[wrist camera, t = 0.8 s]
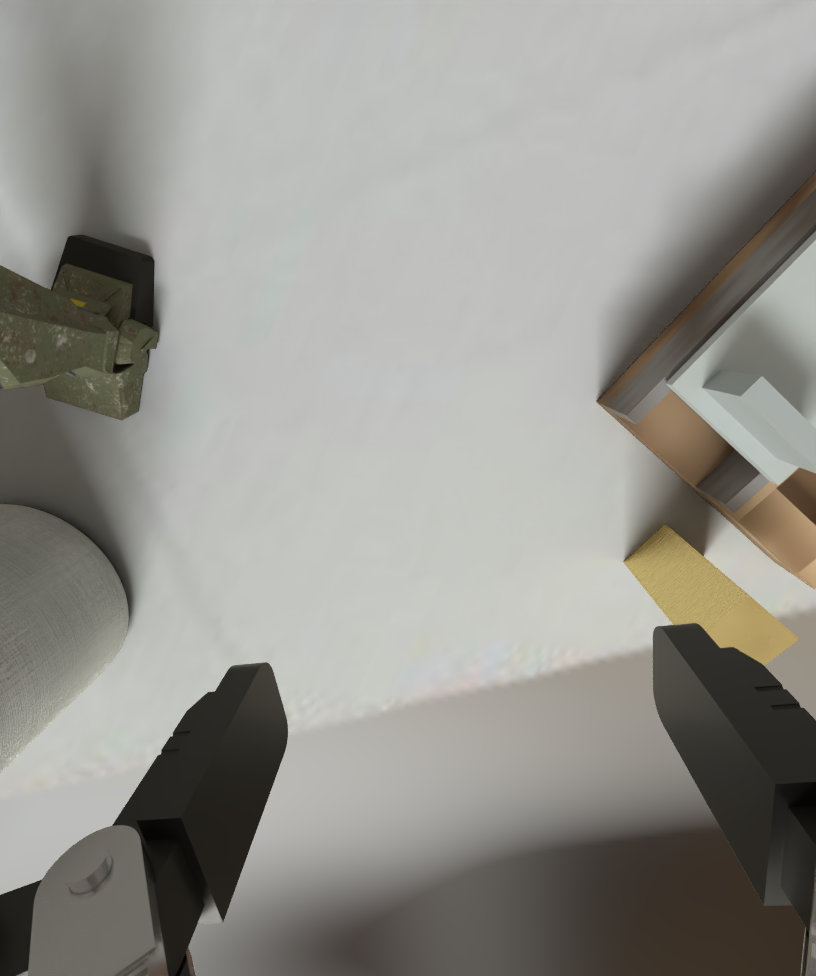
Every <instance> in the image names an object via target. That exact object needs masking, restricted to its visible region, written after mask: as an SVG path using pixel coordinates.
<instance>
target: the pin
mask: <svg viewBox="0 0 816 976" xmlns="http://www.w3.org/2000/svg"><path fill="white" fill-rule="evenodd" d="M624 564H625V565H626V566H627V567H628V569H629V570H630V571H631V572H632V574H633V575H634V576H635V577H636V579H637V580H638V581H639V582H640V584H641V585H642V586H643V587H644V589H645V590H646V591H647V592H648V594H649V595H650V596H651V597H652V599H653V600H654V601H655V602H656V604H657V605H658V606H659V607H660V609H661V610H662V611H663V612H664V613H665V615H666V616H667V617H668V618H669V620H670V621H671V622H672V623H673V625H679V624H689V623H697V624H699V625H700V626H701V627H702V628H703V629H704V630H705V631H706V632H707V633H708V635H709V636H710V637H711V638H712V639H713V640H714V641H715V643H716V644H717V645H718V646H719V647H720V648H726V647H735V648H736V649H738V650H740V651H741V652H743V653H745V654H746V655H748V656H750V657H751V658H753V659H755V660H757V661H758V662H760V663H762V664H763V665H766V664H767V663H768V662H770V661H771V660H772V659H773V658H775V657H776V656H777V655H779V654H780V653H781V652H783V651H784V650H785V649H787V648H788V647H789V646H790V645H792V644H793V643H795V642H796V641H797V640H798V639H799V638H797V637H796V636H795V635H794V634H793V633H792V632H791V631H789V630H788V629H787V628H786V627H785V626H784V625H782V624H781V623H780V622H779V621H778V620H777V619H776V618H774V617H773V616H772V615H771V614H770V613H769V612H768V611H766V610H765V609H764V608H763V607H762V606H761V605H760V604H758V603H757V602H756V601H755V600H754V599H753V598H752V597H750V596H749V595H748V594H747V593H746V592H745V591H743V590H742V589H741V588H740V587H739V586H738V585H736V584H735V583H734V582H733V581H732V580H731V579H729V578H728V577H727V576H726V575H725V574H723V573H722V572H721V571H720V570H719V569H718V568H716V567H715V566H714V565H713V564H712V563H711V562H709V561H708V560H707V559H706V558H705V557H704V556H702V555H701V554H700V553H699V552H698V551H696V550H695V549H694V548H693V547H692V546H691V545H689V544H688V543H687V542H686V541H685V540H684V539H682V538H681V537H680V536H679V535H678V534H677V533H675V532H674V531H673V530H672V529H671V528H670V527H668V526H667V525H666V524H665V525H664V526H662V527H661V528H660V529H659V530H658V531H657V532H656V533H655V534H654V535H653V536H652V537H650V538H649V539H648V540H647V541H646V542H645V543H644V544H643V545H642V546H641V547H640V548H638V549H637V550H636V551H635V552H634V553H633V554H632V555H631V556H630V557H629V558H627V559H626V560H625V561H624Z"/></svg>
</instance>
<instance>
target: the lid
mask: <svg viewBox="0 0 816 976" xmlns="http://www.w3.org/2000/svg"><path fill="white" fill-rule="evenodd" d="M665 384H666V385H667V386H668V387H669V388H670V389H671V390H672V391H674V392H675V393H676V394H677V395H678V396H679V397H680V398H681V399H682V400H683V401H684V402H685V403H686V404H687V405H689V406H690V407H691V408H692V409H693V410H694V411H695V412H696V413H697V414H698V415H699V416H700V417H701V418H702V419H704V420H705V421H706V422H707V423H708V424H709V425H710V426H711V427H712V428H713V429H714V430H715V431H716V432H717V433H718V434H720V435H721V436H722V437H723V438H724V439H725V440H726V441H727V442H728V443H729V444H730V445H731V446H732V447H733V448H735V449H736V450H737V451H738V452H739V453H740V454H741V455H742V456H743V457H744V458H745V459H746V460H747V461H748V462H750V463H751V464H752V465H753V466H754V467H755V468H756V469H757V470H758V471H759V472H760V473H761V474H762V475H763V476H764V477H766V478H767V479H768V480H769V481H770V482H773V483H775V484H777V485H779V484H780V483H782V482H783V481H784V480H785V479H786V478H787V477H788V476H790V475H791V474H792V473H793V472H794V471H795V470H796V469H798V468H799V467H800V468H803V469H805V470H808V471H810V472H813V473H816V231H815V232H814V233H813V234H812V235H811V236H810V237H809V238H808V239H807V240H806V241H805V242H804V243H803V244H802V245H801V246H800V247H799V248H798V249H797V250H796V251H795V252H794V253H793V254H792V255H791V256H790V257H789V258H788V259H787V260H786V261H785V262H784V263H783V264H782V265H781V266H780V267H779V269H778V270H777V271H776V272H775V273H774V274H773V275H772V276H771V277H770V278H769V279H768V280H767V281H766V282H765V283H764V284H763V285H762V286H761V287H760V288H759V289H758V290H757V291H756V292H755V293H754V294H753V295H752V296H751V297H750V298H749V299H748V300H747V301H746V302H745V303H744V304H743V305H742V306H741V307H740V308H739V309H738V310H737V311H736V312H735V313H734V314H733V315H732V316H731V317H730V318H729V319H728V320H727V321H726V322H725V323H724V324H723V325H722V326H721V327H720V328H719V329H718V330H717V331H716V332H715V333H714V334H713V335H712V336H711V337H710V338H709V339H708V341H707V342H706V343H705V344H704V345H703V346H702V347H701V348H700V349H699V350H698V351H697V352H696V353H695V354H694V355H693V356H692V357H691V358H690V359H689V360H688V361H687V362H686V363H685V364H684V365H683V366H682V367H681V368H680V369H679V370H678V371H677V372H676V373H675V374H674V375H673V376H672V377H671V378H670V379H669V380H668V381H667V382H666V383H665Z"/></svg>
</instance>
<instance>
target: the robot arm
mask: <svg viewBox="0 0 816 976" xmlns="http://www.w3.org/2000/svg"><path fill="white" fill-rule="evenodd" d="M653 692H654V699H655V703H656V707H657V710H658V714H659V717H660V719H661V721H662V723H663V725H664V727H665V729H666V731H667V732H668V734H669V736H670V738H671V740H672V742H673V743H674V745H675V747H676V749H677V750H678V752H679V754H680V756H681V758H682V760H683V761H684V763H685V765H686V766H687V768H688V770H689V772H690V774H691V776H692V778H693V779H694V781H695V783H696V784H697V787H698V788H699V790H700V792H701V793H702V795H703V797H704V799H705V801H706V803H707V805H708V806H709V808H710V810H711V812H712V813H713V815H714V817H715V819H716V821H717V822H718V824H719V826H720V828H721V830H722V831H723V833H724V835H725V837H726V839H727V840H728V842H729V844H730V846H731V848H732V849H733V851H734V853H735V855H736V857H737V858H738V860H739V862H740V864H741V866H742V867H743V869H744V871H745V873H746V875H747V876H748V878H749V880H750V882H751V884H752V885H753V887H754V889H755V891H756V893H757V894H758V896H759V898H760V900H761V902H762V903H763V905H764V906H777V905H793V907H794V909H795V910H796V912H797V914H798V915H799V917H800V918H801V920H802V922H803V924H804V925H805V927H806V929H805V937H804V946H803V956H802V957H803V958H802V967H801V976H816V720H815V719H814V718H813V717H812V716H811V715H810V714H809V713H808V712H807V711H806V710H805V709H804V708H801V707H800V705H799V702H798V701H797V700H796V699H795V698H794V697H793V696H792V695H791V694H790V693H789V692H788V691H787V690H784V689H783V687H782V684H781V683H780V682H779V681H778V680H777V679H776V678H775V677H774V676H773V675H772V674H771V673H770V672H769V671H768V670H767V669H766V668H765V666H764V665H763V664H762V663H760V662H758V661H757V660H755V659H753V658H751V657H750V656H748V655H746V654H745V653H743V652H741V651H740V650H738V649H736V648H735V647H726V648H720V647H719V646H718V645H717V644H716V643H715V641H714V640H713V639H712V638H711V637H710V636H709V635H708V633H707V632H706V631H705V630H704V629H703V628H702V627H701V626H700V625H699V624H697V623H689V624H679V625H668V626H658V627H655V629H654V632H653ZM287 738H288V725H287V719H286V715H285V711H284V708H283V704H282V701H281V697H280V694H279V690H278V687H277V683H276V680H275V676H274V673H273V670H272V667H271V666H270V664H268V663H266V662H265V663H255V664H244V665H234V666H232V667H230V668H229V670H228V671H227V673H226V674H225V676H224V678H223V679H222V681H221V683H220V684H219V686H218V688H217V689H216V691H215V692H208V693H207V694H205V695H204V696H203V697H202V698H201V699H200V700H199V701H198V702H197V703H196V704H194V705H193V706H192V707H191V708H190V709H189V710H188V711H187V712H186V713H185V715H184V716H183V718H182V719H181V721H180V723H179V724H178V726H177V727H176V729H175V730H174V732H173V737H170V738H169V739H168V741H167V742H166V744H165V746H164V747H163V749H162V750H161V751H162V752H161V755H158V756H157V758H156V759H155V761H154V762H153V764H152V765H151V767H150V769H149V770H148V772H147V773H146V775H145V776H144V778H143V779H142V781H141V782H140V784H139V785H138V787H137V788H136V790H135V792H134V793H133V795H132V796H131V798H130V799H129V801H128V802H127V804H126V805H125V807H124V808H123V810H122V811H121V813H120V815H119V816H118V818H117V819H116V821H115V822H114V824H113V825H112V826H110V827H106V828H103V829H101V830H98V831H96V832H94V833H92V834H90V835H88V836H86V837H85V838H83V839H82V840H80V841H79V842H77V843H76V844H75V845H73V846H72V847H71V848H69V849H68V850H67V851H66V852H65V853H64V854H63V855H62V856H61V857H60V858H59V859H58V860H57V861H56V862H55V863H54V864H53V866H52V867H51V868H50V869H49V870H48V872H47V873H46V875H45V876H44V878H43V879H42V880H40V881H37V882H35V883H32V884H29V885H27V886H24V887H21V888H18V889H15V890H13V891H10V892H7V893H4V894H2V895H0V976H196V975H195V970H194V965H193V960H192V955H191V953H190V950H189V948H188V946H189V943H190V941H191V938H192V936H193V933H194V931H195V928H196V926H197V924H204V923H223V921H224V918H225V915H226V913H227V910H228V907H229V904H230V902H231V899H232V896H233V893H234V891H235V888H236V885H237V882H238V880H239V877H240V874H241V871H242V869H243V866H244V863H245V860H246V858H247V855H248V852H249V849H250V846H251V844H252V841H253V838H254V835H255V833H256V830H257V827H258V824H259V822H260V819H261V816H262V813H263V811H264V808H265V805H266V802H267V799H268V796H269V794H270V791H271V788H272V786H273V783H274V780H275V777H276V774H277V772H278V769H279V766H280V763H281V761H282V758H283V755H284V752H285V749H286V745H287Z"/></svg>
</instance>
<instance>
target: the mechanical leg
mask: <svg viewBox="0 0 816 976" xmlns="http://www.w3.org/2000/svg"><path fill="white" fill-rule="evenodd" d="M153 295H154V260H153V258H152V257H150V256H147V255H144V254H141V253H138V252H135V251H132V250H129V249H125V248H122V247H119V246H116V245H113V244H110V243H107V242H103V241H100V240H97V239H94V238H91V237H88V236H84V235H75V236H69V237H68V239H67V242H66V245H65V248H64V251H63V254H62V257H61V261H60V264H59V267H58V270H57V273H56V276H55V279H54V282H53V286H52V289H51V290H49V289H47V288H45V287H42V286H40V285H38V284H36V283H34V282H32V281H30V280H28V279H26V278H24V277H22V276H20V275H19V274H17V273H15V272H13V271H11V270H9V269H7V268H5V267H3V266H0V389H1V388H5V389H13V388H20V387H27V386H34V385H41V384H43V385H44V389H45V393H46V396H47V398H51V399H54V400H57V401H61V402H64V403H67V404H70V405H74V406H77V407H80V408H84V409H87V410H90V411H93V412H97V413H100V414H103V415H107V416H110V417H113V418H116V419H120V420H123V419H125V418H127V417H129V416H131V415H133V414H134V413H136V412H138V411H139V403H140V396H141V389H142V381H143V374H144V373H145V372H146V371H147V366H148V354H147V353H146V351H147V349H150V348H151V349H156V346H157V340H158V335H159V333H158V332H157V331H155V330H154V329H152V328H151V327H149V326H147V325H150V326H153Z"/></svg>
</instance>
